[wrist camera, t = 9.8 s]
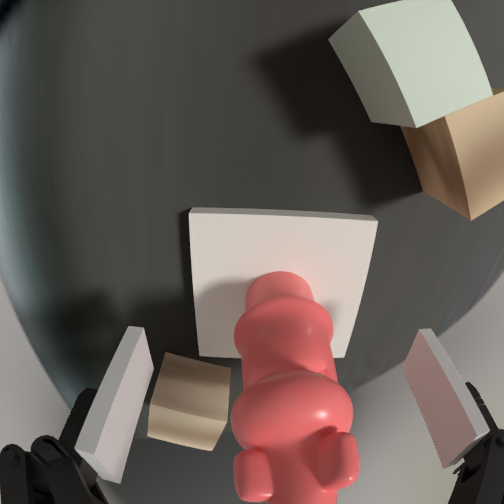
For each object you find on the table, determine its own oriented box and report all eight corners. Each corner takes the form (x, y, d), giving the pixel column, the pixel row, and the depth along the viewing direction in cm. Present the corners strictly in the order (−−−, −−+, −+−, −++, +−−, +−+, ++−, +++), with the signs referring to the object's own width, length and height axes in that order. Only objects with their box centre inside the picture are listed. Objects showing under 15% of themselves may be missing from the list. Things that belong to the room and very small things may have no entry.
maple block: (166, 351, 21) (150, 403, 16) (231, 367, 21) (227, 421, 17) (160, 388, 23) (147, 436, 18) (216, 402, 23) (211, 451, 19)
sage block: (327, 39, 12) (358, 11, 8) (400, 17, 11) (447, -7, 6) (370, 122, 14) (416, 128, 9) (437, 94, 13) (493, 95, 8)
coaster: (192, 207, 16) (188, 213, 15) (371, 215, 16) (378, 221, 15) (201, 346, 20) (199, 355, 19) (340, 347, 20) (344, 357, 20)
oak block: (393, 112, 14) (444, 115, 9) (455, 87, 13) (510, 88, 8) (422, 191, 15) (471, 220, 11) (477, 161, 14) (529, 182, 10)
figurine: (313, 247, 16) (419, 565, 2) (331, 319, 18) (397, 565, 4) (223, 274, 17) (182, 588, 3) (252, 340, 19) (253, 587, 5)
